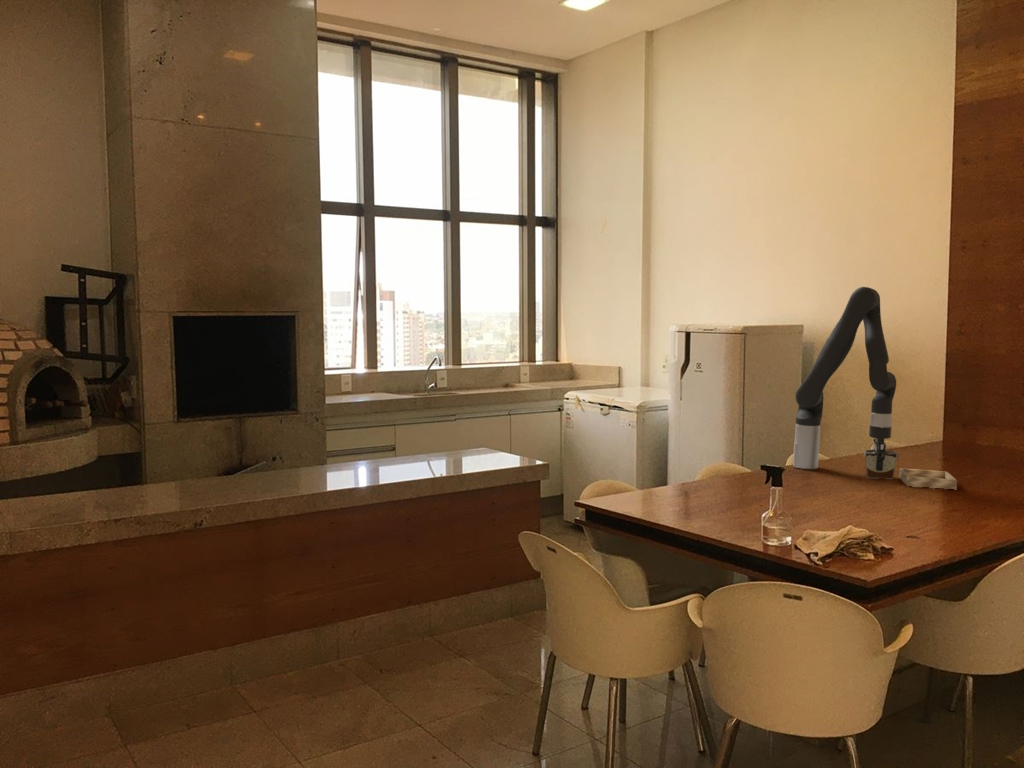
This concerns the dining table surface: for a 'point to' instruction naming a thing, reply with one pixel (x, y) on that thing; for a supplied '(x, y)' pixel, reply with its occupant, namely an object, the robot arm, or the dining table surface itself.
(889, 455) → the food container
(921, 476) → the whitewashed wooden tray
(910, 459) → the dining table surface
